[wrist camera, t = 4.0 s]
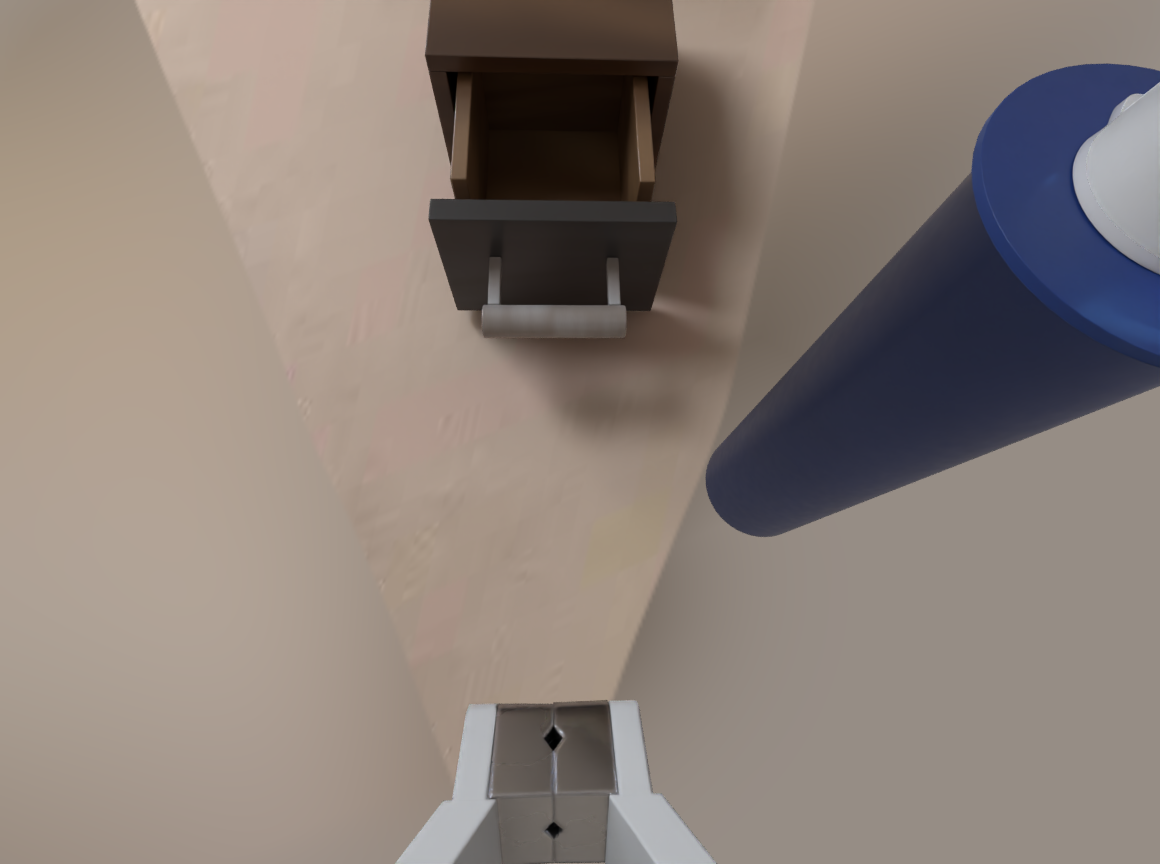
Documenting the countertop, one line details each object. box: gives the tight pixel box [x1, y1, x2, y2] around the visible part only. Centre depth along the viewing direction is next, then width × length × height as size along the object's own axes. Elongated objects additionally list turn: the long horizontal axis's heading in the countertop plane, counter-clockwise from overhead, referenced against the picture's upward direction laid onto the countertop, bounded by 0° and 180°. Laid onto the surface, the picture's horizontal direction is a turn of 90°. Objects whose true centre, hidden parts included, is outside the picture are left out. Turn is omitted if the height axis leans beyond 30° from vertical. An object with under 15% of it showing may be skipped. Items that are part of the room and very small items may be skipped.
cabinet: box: [425, 0, 679, 168], centre depth 35 cm, size 15×13×10 cm
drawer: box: [429, 72, 677, 338], centre depth 31 cm, size 18×12×8 cm, turn 1°
